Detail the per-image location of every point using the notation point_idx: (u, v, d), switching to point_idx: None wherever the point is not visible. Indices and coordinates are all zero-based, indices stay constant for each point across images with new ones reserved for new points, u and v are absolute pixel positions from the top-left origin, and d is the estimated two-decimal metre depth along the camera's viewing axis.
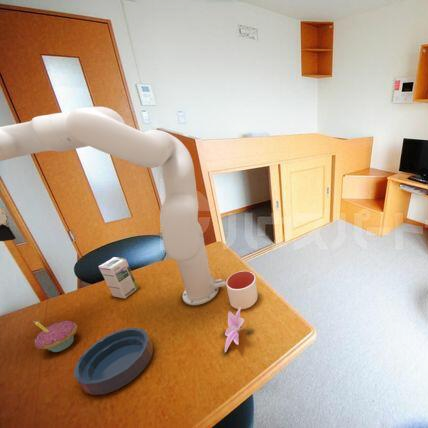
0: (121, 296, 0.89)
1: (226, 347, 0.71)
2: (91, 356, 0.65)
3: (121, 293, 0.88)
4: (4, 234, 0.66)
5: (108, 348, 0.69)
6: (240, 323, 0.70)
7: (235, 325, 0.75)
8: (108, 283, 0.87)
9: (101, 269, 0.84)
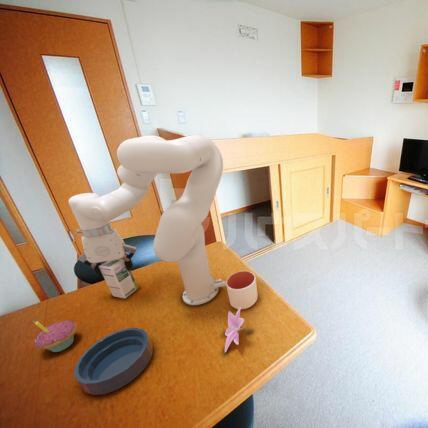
0: (121, 296, 0.89)
1: (226, 347, 0.71)
2: (91, 356, 0.65)
3: (121, 293, 0.88)
4: None
5: (108, 348, 0.69)
6: (240, 323, 0.70)
7: (235, 325, 0.75)
8: (108, 283, 0.87)
9: (101, 269, 0.84)
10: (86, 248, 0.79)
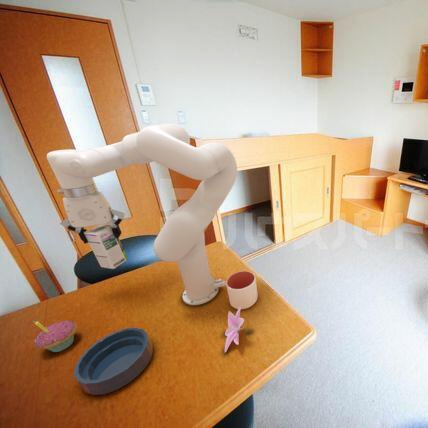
0: (109, 266, 0.83)
1: (226, 347, 0.71)
2: (91, 356, 0.65)
3: (109, 263, 0.82)
4: None
5: (108, 348, 0.69)
6: (240, 323, 0.70)
7: (235, 325, 0.75)
8: (95, 252, 0.81)
9: (87, 235, 0.78)
10: (68, 211, 0.73)
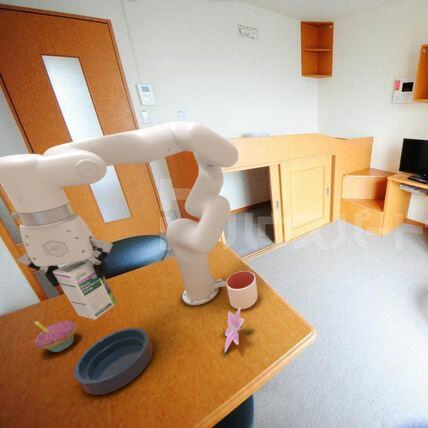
0: (89, 316, 0.59)
1: (226, 347, 0.71)
2: (91, 356, 0.65)
3: (89, 312, 0.59)
4: None
5: (108, 348, 0.69)
6: (240, 323, 0.70)
7: (235, 325, 0.75)
8: (69, 297, 0.58)
9: (57, 276, 0.55)
10: (28, 244, 0.49)
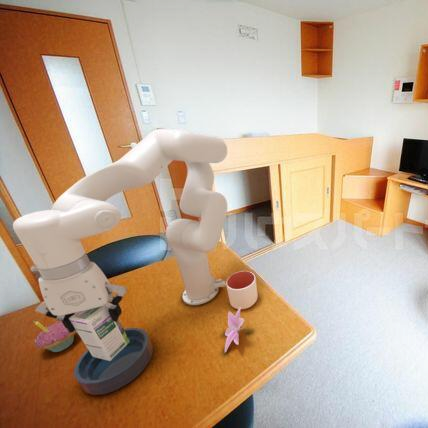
0: (104, 358, 0.61)
1: (226, 347, 0.71)
2: (91, 356, 0.65)
3: (105, 355, 0.60)
4: None
5: None
6: (240, 323, 0.70)
7: (235, 325, 0.75)
8: (85, 340, 0.59)
9: (73, 322, 0.56)
10: (46, 296, 0.51)
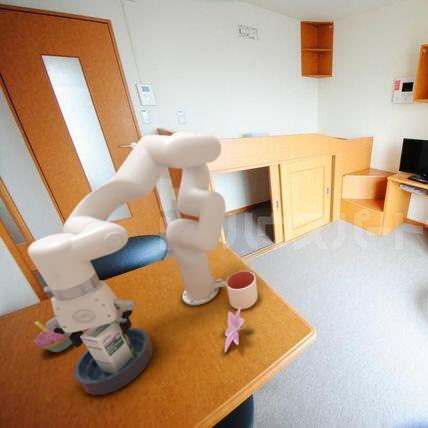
0: (113, 373, 0.63)
1: (226, 347, 0.71)
2: (91, 356, 0.65)
3: (114, 370, 0.63)
4: None
5: None
6: (240, 323, 0.70)
7: (235, 325, 0.75)
8: (95, 357, 0.62)
9: (84, 340, 0.59)
10: (59, 314, 0.53)
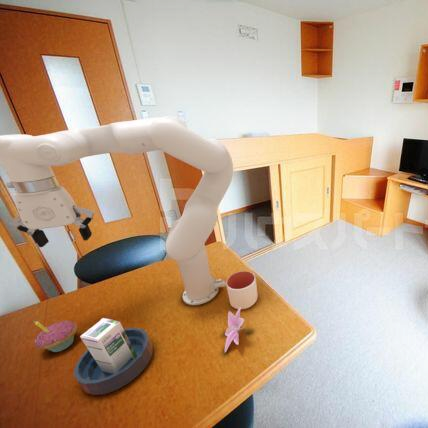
0: (113, 373, 0.63)
1: (226, 347, 0.71)
2: (91, 356, 0.65)
3: (114, 370, 0.63)
4: None
5: None
6: (240, 323, 0.70)
7: (235, 325, 0.75)
8: (95, 357, 0.62)
9: (84, 340, 0.59)
10: (20, 209, 0.60)
